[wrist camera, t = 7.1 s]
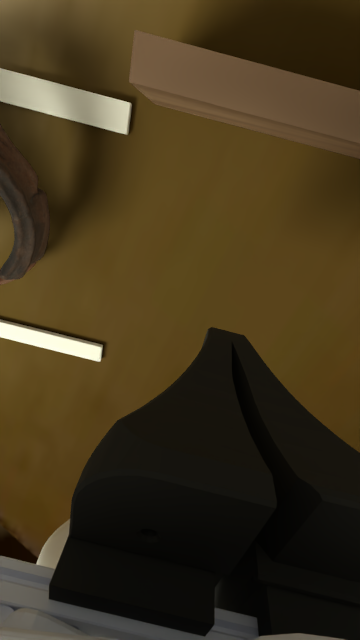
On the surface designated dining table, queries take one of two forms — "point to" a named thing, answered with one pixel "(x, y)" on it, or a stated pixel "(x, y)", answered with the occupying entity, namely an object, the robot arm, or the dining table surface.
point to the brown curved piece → (22, 211)
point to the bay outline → (74, 108)
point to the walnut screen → (246, 94)
